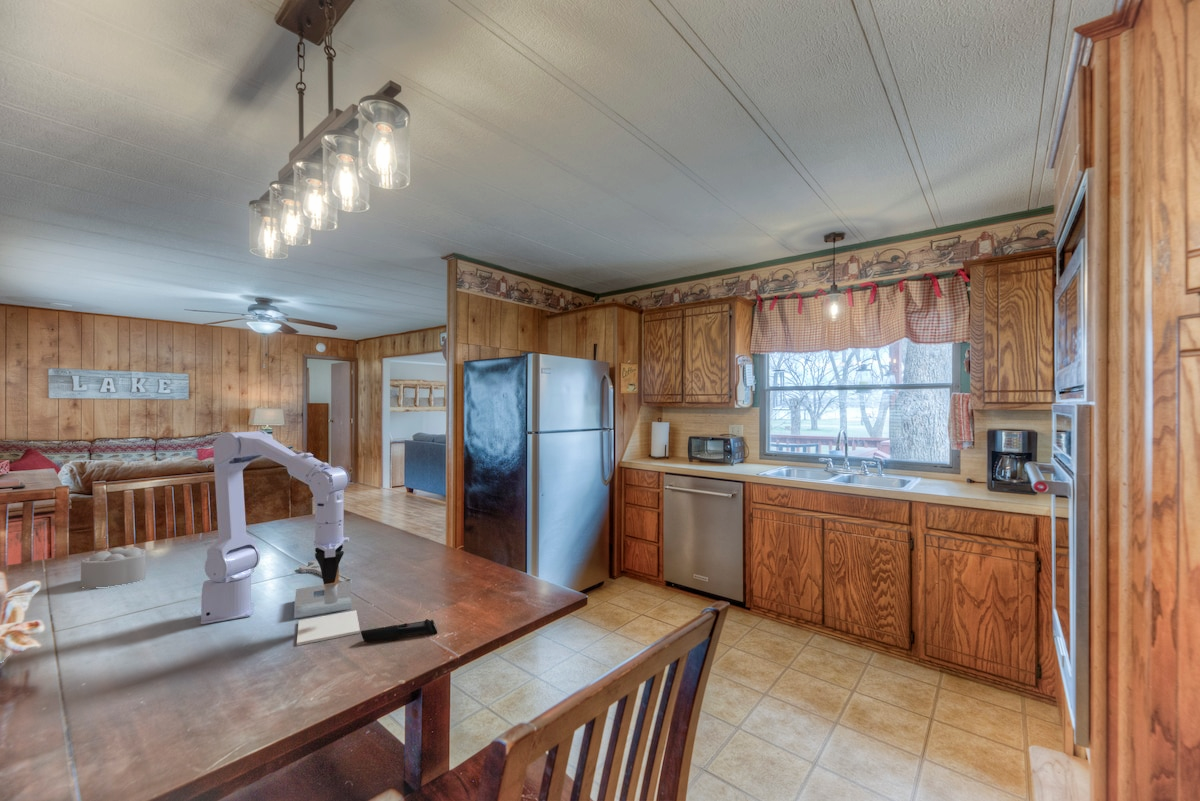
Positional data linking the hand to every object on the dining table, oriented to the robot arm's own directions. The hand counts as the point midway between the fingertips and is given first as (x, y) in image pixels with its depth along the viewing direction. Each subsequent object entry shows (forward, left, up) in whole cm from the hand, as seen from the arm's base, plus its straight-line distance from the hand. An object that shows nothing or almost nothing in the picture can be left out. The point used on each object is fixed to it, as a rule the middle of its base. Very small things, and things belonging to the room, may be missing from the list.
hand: (329, 580), depth 114 cm
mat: (0, -1, -10) cm, 11 cm away
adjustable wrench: (-1, +37, -11) cm, 39 cm away
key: (0, 0, -5) cm, 5 cm away
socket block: (-1, +14, -10) cm, 18 cm away
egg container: (-52, +59, -11) cm, 79 cm away
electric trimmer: (+14, -13, -11) cm, 22 cm away
